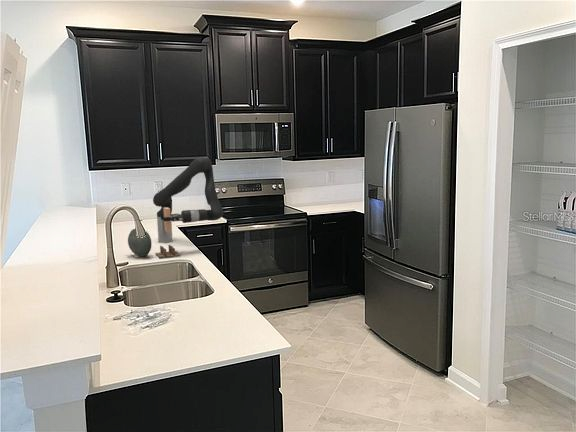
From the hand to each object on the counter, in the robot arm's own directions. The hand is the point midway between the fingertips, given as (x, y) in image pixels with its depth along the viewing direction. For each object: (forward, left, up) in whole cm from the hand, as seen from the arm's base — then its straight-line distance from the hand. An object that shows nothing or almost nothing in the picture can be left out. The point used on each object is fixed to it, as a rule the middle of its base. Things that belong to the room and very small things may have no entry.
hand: (162, 218), depth 283 cm
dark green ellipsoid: (-4, -13, -22) cm, 26 cm away
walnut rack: (+1, +2, -22) cm, 22 cm away
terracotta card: (0, +3, -8) cm, 9 cm away
